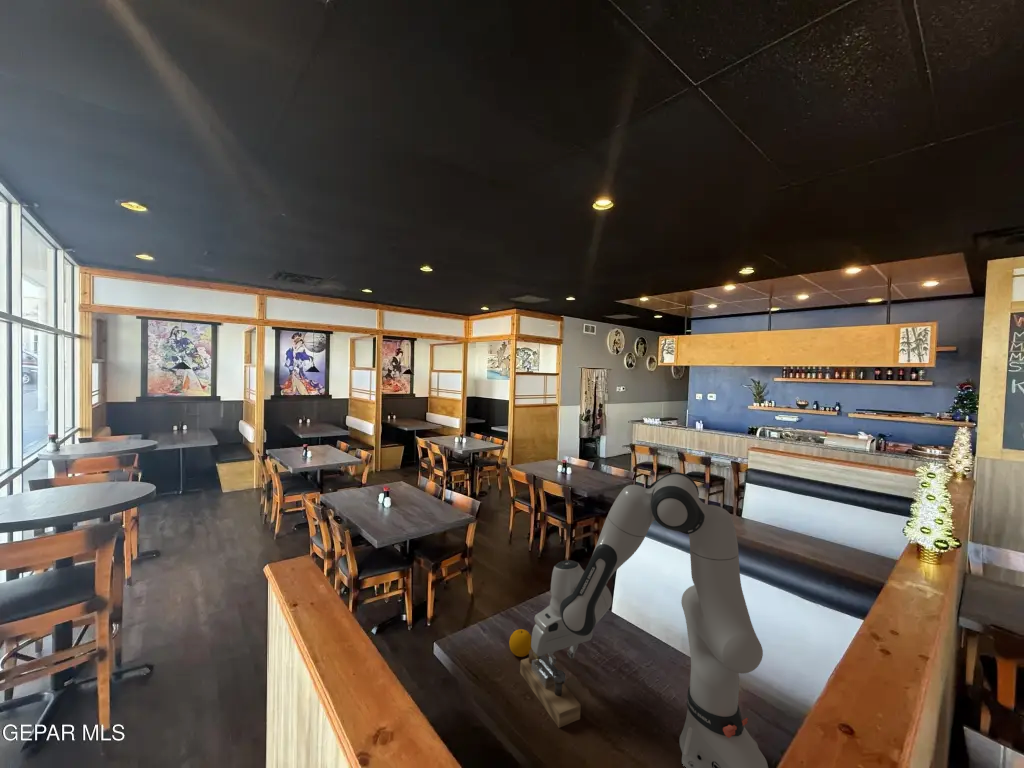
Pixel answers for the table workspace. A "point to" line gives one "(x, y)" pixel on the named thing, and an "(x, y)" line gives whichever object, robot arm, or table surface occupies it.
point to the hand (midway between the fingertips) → (561, 660)
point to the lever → (551, 669)
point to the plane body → (552, 696)
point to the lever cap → (542, 673)
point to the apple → (520, 642)
